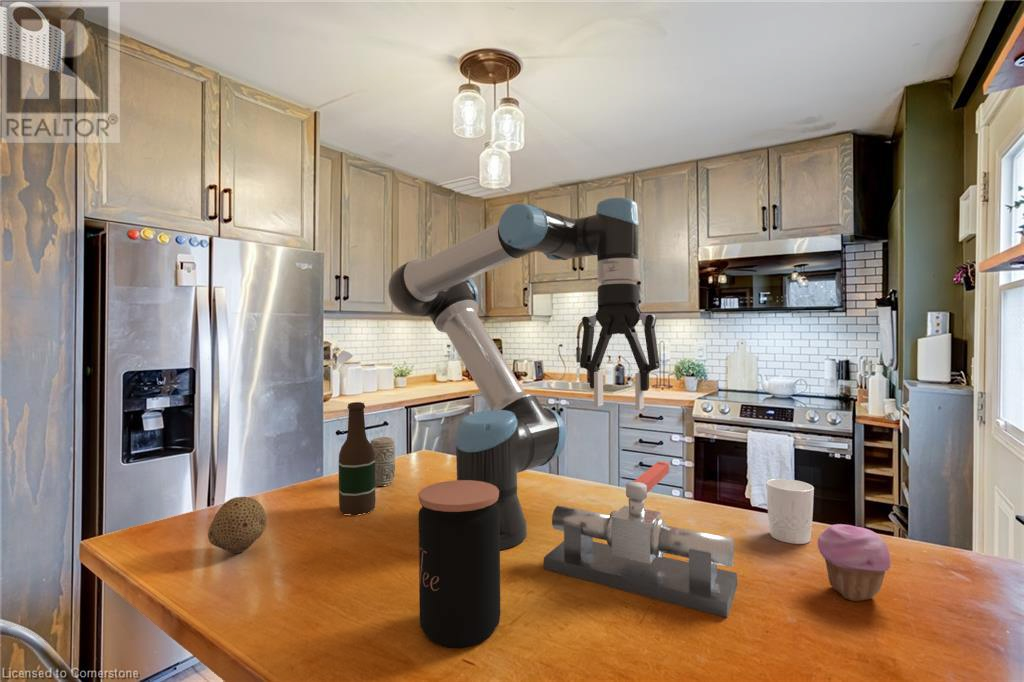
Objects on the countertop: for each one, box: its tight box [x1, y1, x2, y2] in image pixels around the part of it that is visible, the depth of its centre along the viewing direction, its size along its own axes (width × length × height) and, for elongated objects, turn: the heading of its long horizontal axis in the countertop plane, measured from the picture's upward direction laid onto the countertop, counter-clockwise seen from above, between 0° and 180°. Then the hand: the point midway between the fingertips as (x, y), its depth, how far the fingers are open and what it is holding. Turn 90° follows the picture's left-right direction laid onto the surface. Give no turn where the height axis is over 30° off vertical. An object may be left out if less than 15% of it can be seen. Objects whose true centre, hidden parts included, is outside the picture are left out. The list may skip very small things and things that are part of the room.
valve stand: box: [543, 498, 738, 618], centre depth 79 cm, size 28×10×12 cm, turn 59°
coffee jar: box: [417, 479, 501, 649], centre depth 66 cm, size 11×11×18 cm
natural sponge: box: [207, 496, 268, 554], centre depth 89 cm, size 9×9×10 cm
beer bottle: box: [338, 401, 376, 515], centre depth 111 cm, size 8×8×24 cm
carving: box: [370, 436, 396, 487], centre depth 131 cm, size 6×8×12 cm
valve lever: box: [625, 461, 670, 500], centre depth 86 cm, size 19×3×2 cm, turn 149°
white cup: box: [765, 478, 815, 545], centre depth 94 cm, size 8×8×10 cm
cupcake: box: [817, 523, 891, 602], centre depth 73 cm, size 9×9×10 cm
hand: (618, 407), depth 93 cm, fingers open, 7 cm apart
